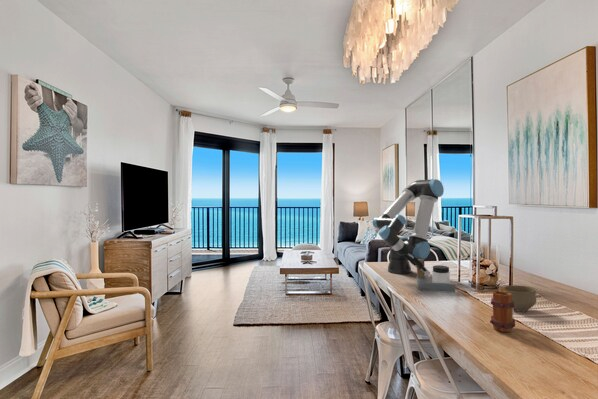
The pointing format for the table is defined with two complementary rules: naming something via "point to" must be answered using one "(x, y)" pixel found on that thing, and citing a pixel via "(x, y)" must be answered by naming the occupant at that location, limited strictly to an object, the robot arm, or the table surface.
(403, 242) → the robot arm
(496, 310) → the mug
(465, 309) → the table surface
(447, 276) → the jar
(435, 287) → the pull strip
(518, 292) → the bowl
